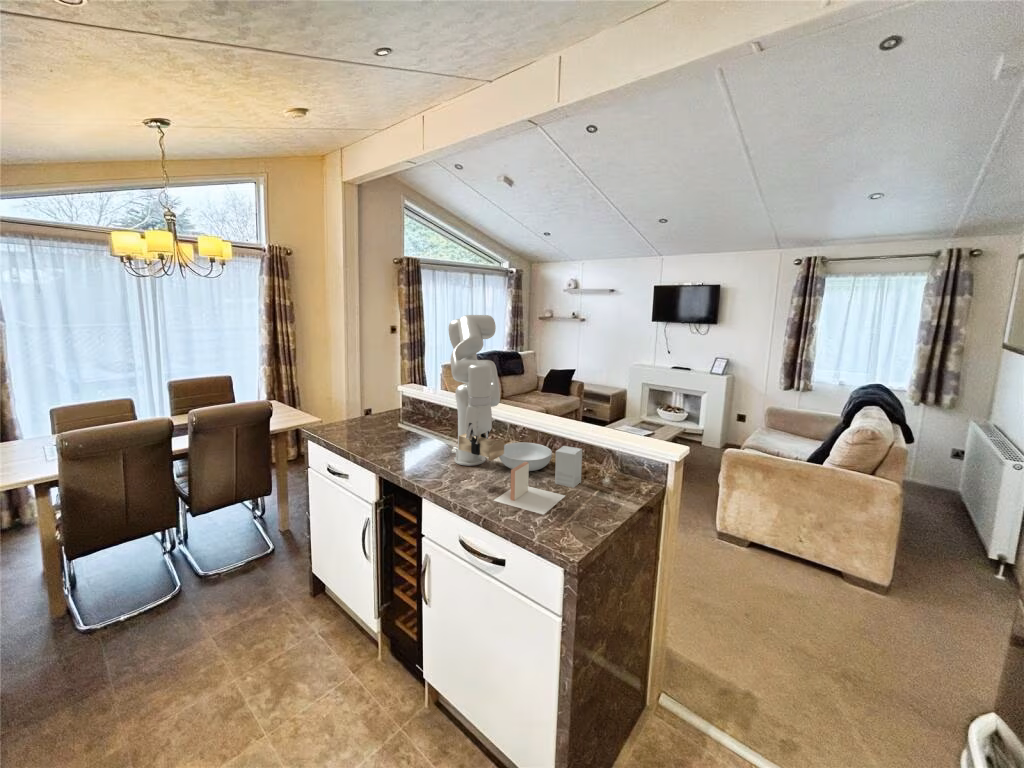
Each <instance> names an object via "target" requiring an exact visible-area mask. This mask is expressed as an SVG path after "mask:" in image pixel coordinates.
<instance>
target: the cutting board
mask: <svg viewBox="0 0 1024 768" xmlns="http://www.w3.org/2000/svg"><path fill="white" fill-rule="evenodd" d="M510 495H511V488H510V489H508V490H507V491H505V492H504V493H502V494H501V495H499V496H498V497H496V498H495V499H493V500H492V501H493V502H496V503H500V504H503V505H508V506H509V507H510V506H511V507H515V508H518V509H522V510H525V511H528V512H533V513H536V514H539V515H542V516H544V515H546V513H548V512H549V511H550V510H551V509H552V508H554V506H555V505H557V504H558V503H559V502H560V501H561V500H563V499H564V498H565V497H566V495H565V494H562V493H561V494H560V493H556V492H552V491H549V490H545V489H540V488H537V487H533V486H529V485H528V491H527V492H526V493H524V494H523V495H522V496H520V497H519V498H517V499H516V500H514V501H513V500H510Z"/></svg>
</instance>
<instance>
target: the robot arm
mask: <svg viewBox="0 0 1024 768" xmlns="http://www.w3.org/2000/svg"><path fill="white" fill-rule="evenodd" d="M448 324H449V325H448V336H449V341H450V343H451V346H452V348H453V350H452V352H451V355H450V371H451V377H452V378H453V380H454V381H456V382H458V383H463V384H459V385H458V386H457V387H456V389H455V400H456V401H455V403H456V409H457V446H453V447H452V449H451V453H452V454H455V456H454V458H453V459H454V463H456V464H457V465H460V466H465V467H466V466H470V467H471V466H478V465H481V464H483V463H485V462H486V458H487V457H485V456H481V455H480V444H479V437H483V438H487V439H489V434H490V432H491V430H492V428H493V427H492V426H493V414H492V407H493V408H494V407H496V406H499V404H500V401H501V394H500V393H501V392H500V391H501V390H500V385H499V376H498V370H497V365H496V364H495V362H494V361H492V360H490V359H478V356H477V354H478V353H479V352H481V351H482V349H483V347H484V340H488V339H491V338H492V337H494V336H495V333H496V327H497V326H496V322H495V319H494V317H493V316H491V315H489V314H488V315H487V314H466V315H463V316H461V317H460V318H456V319H453V320H451V321H450V322H449V323H448ZM465 433H466V434H467V435H466V438H467V439H468V440H470V443H471V453H470V452H466V451H462V450H459V436H460V435H462V434H465ZM474 436H475V437H476V439H475V438H474Z"/></svg>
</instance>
